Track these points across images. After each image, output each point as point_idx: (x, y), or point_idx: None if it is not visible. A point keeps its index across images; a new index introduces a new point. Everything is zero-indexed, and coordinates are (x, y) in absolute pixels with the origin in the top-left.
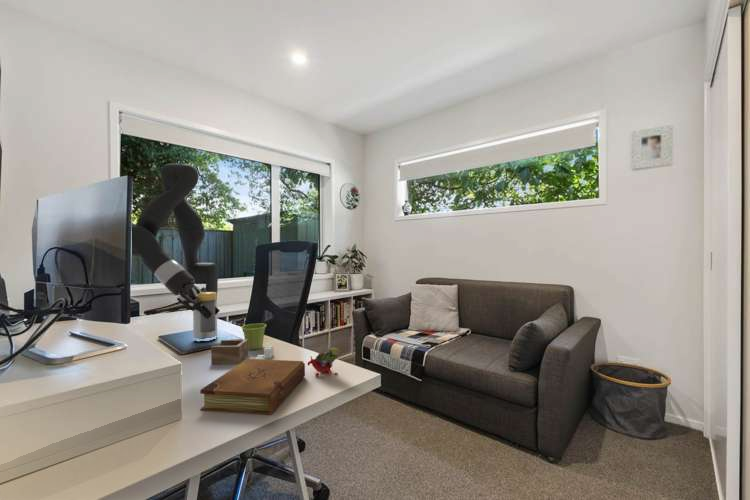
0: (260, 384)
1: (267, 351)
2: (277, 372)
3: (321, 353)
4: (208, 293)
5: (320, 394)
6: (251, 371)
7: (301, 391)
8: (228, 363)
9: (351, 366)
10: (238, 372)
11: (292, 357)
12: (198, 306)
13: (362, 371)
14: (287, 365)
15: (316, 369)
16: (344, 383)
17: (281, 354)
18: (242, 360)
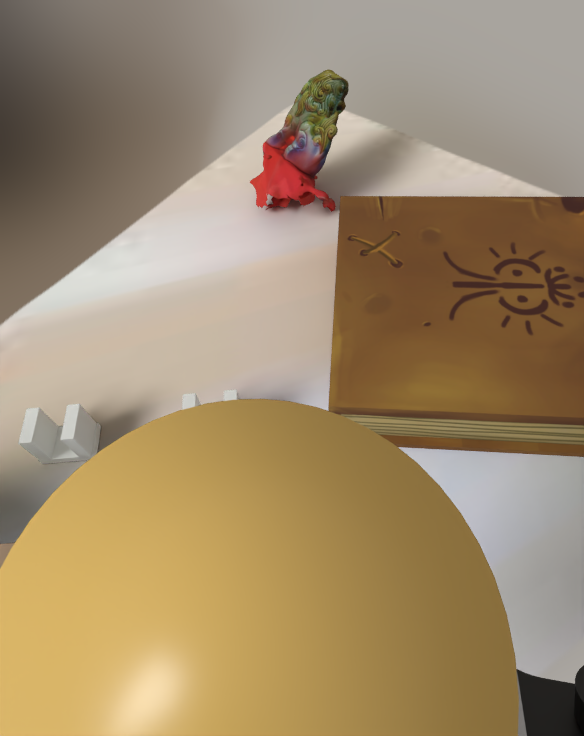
0: None
1: (82, 426)
2: (479, 231)
3: (333, 121)
4: (277, 568)
5: (460, 176)
6: (494, 319)
7: None
8: None
9: (231, 150)
10: (522, 364)
11: (105, 337)
12: (571, 689)
13: (275, 123)
14: (396, 225)
15: (309, 200)
16: (372, 144)
17: (48, 397)
18: None
